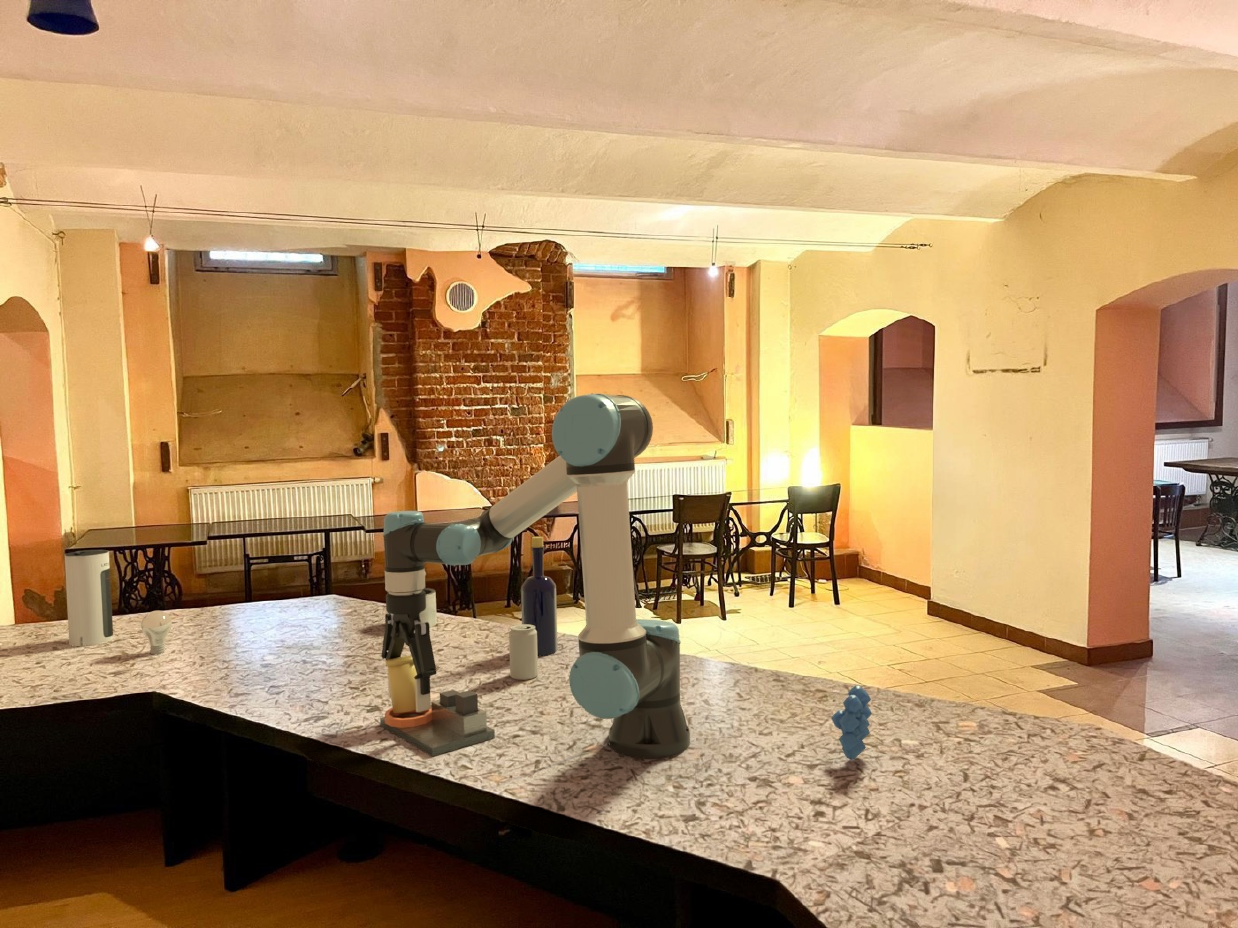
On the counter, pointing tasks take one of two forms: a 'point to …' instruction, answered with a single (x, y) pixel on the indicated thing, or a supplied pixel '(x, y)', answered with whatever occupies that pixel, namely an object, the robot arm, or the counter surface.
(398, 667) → the cap
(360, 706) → the counter surface
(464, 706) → the block
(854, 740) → the grapes
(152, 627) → the light bulb
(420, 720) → the orange ring
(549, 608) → the bottle
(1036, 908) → the counter surface
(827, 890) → the counter surface
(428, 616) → the planter
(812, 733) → the counter surface
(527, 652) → the beverage can
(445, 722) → the breaker panel
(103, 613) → the speaker
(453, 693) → the block
